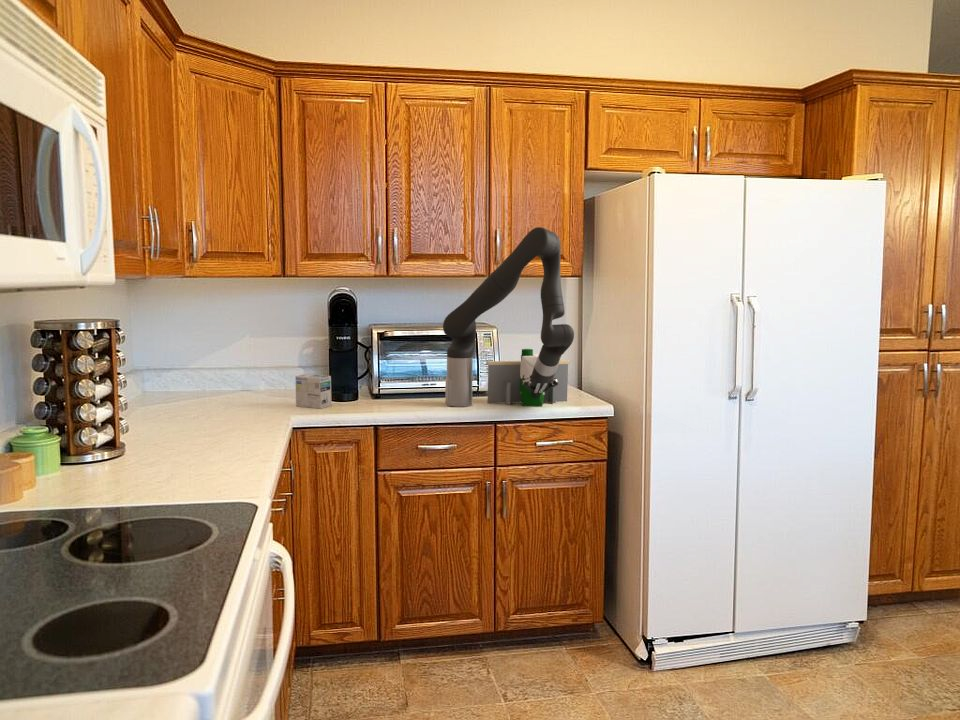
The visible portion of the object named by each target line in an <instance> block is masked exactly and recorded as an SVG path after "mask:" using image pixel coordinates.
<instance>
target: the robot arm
mask: <svg viewBox="0 0 960 720" xmlns="http://www.w3.org/2000/svg"><path fill="white" fill-rule="evenodd" d="M561 250H562V249H561V240H560V237H559V236H558V235H557V234H556V233H555V232H553V231H551V230H549V229H547V228H544V227H543V226H542V227H541V226H538V227H534V228H533V229H531V230H530V231H528V233H526V235H525V236H524V237H523V238H522V240H521V241H520V242H519V243H518V244H517V246H516V247H515V248H514V250H513V251H512V252H511V253H510V254H509V255H508V256H507V257H506V258H505V259H504V261H503V262H502V263H501V264H500V265H498V266H497V267H496V268H495V269H494V270H493V271H492V272H491V273H490V274H489V275H488V276H487V277H486V278H485V280H483V281H482V283H481V284H480V285H479V286H478V287H477V288H476V289H475V290H474V291H473V292H472V293H471V294H470V296H468V297H467V298H466V300H464V302H462V303H461V304H460V305H459V306H457V307H456V308H455V309H453V310H452V311H450V313H449V314H447V316H446V317H445V318H444V321H443V325H442V329H443V333H444V334H445V336H447V337H449V338H451V340H452V341H451V344H450V345H449V347H448V348H447V350H446V377H445V392H444V393H445V394H444V395H445V396H444V397H445V399H444V400H445V401H444V402H445V404H446V406H449V407H470V406H472V405H473V369H474V368H473V367H474V366H473V365H474V361H473V360H474V358H473V357H474V356H473V355H474V351H475V347H476V340H477V339H476V335H477V323H476V319H478V318H479V317H480V316H481V315H483V314H484V313H486V312H487V311H489V310H490V309H492V308H494V307H496V306H497V305H498V304H499V303H501V302H503V301H504V300H505V299H506V298H507V297H508V296H509V295H510V294H511V293H512V292H513V291H514V290H515V288H516V286H517V284H518V282H519V280H520V278H521V274H522V272H523V270H524V269H525V268H526V266H527V265H528V264H530V263H531V262H532V261H533V260H534V259H535V258H536V257H538V258H540V260H541V263H542V269H543V278H542V282H541V287H540V302H541V310H542V323H541V324H542V325H541V328H540V329H541V330H540V341H541V343H542V346H541V348H540V351H539V353H538V354H539V356H538V358H537V360H536V363H535V366H534V369H533V372H532V375H531V376H530V377H529V379H526V378H524V379H523V384H524V386H525V387H526V388H527V389H528V390H529V391H530V392H532V397H533V398H538V397H540V395H541V393H542V392H543V391H545V392H547V391H548V390H550V389H552V388H553V387H555V386H557V385H558V381H557V378H554V376H555V373H556V370H557V368H558V364H559V360H561V358H562V355H564V353H565V352H566V351H567V350H568V349H569V348H570V347H571V346H572V344H573V342H574V338H575V331H574V329H573V327H572V326H571V325H570V324H568V323H562V324H559V323H558V324H553V321H554V320H558V319H560V318H562V317H564V315H565V305H564V298H563V297H564V296H563V290H562V283H561V280H562V279H561V278H562V277H561V256H562V254H561V253H562V252H561ZM530 382H531V383H532V384H533V386H532V385H531V383H530ZM548 385H549V387H547V386H548Z"/></svg>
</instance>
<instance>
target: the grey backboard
mask: <svg viewBox="0 0 960 720" xmlns="http://www.w3.org/2000/svg"><path fill="white" fill-rule="evenodd" d="M485 364H486V365H487V369H488V370H487V403H488V404H503V403H504V404H505V405H506V406H510V405H511V403H522V401H521V395H520V366H521V360H498V361H497V360H490V361H489V360H488V361H487V360H486V361H485ZM569 365H570V360H568V359H565V360H561V359H560V360H559V364H558V368H557V370H556V373H555V376H554V378H557V381H558V385H557V386H555V387H553V388H552V389H550V390H548V391H547V392H545V393H544V399H543V403H544V402H547V403H550V402H551V403H550V404H552V403H556V402H567V401H568V385H569V384H568V382H569V381H568V378H569ZM547 387H549V385H548V386H547ZM556 404H557V403H556Z"/></svg>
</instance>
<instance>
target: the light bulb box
mask: <svg viewBox="0 0 960 720" xmlns="http://www.w3.org/2000/svg"><path fill="white" fill-rule="evenodd" d="M295 405H296V407H303V408H311V409H321V410H322V409H324V408H328V407H330V406H332V376H331V375H322V374H321V375H320V374H310V373H305V374H300V375H295Z"/></svg>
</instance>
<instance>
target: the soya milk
mask: <svg viewBox="0 0 960 720" xmlns="http://www.w3.org/2000/svg"><path fill="white" fill-rule="evenodd" d="M539 354H540V353H534V349H532V348H522V349H521V355H520V361H521V366H520V395H521V401H522V402H521V406H522V407H543V404H544V402H543V399H544V393H545V391H543V392H542V393H541V395H540V397H538V398H533V397H532V392H530V391H529V390H528V389H527V388H526V387H525V386H524V384H523V379H524V378H526V379H529V377H530V376H531V375H532V372H533V369H534V366H535V363H536V360H537V358H538V356H539ZM530 383H531V382H530ZM531 385H532V386H533V384H532V383H531Z"/></svg>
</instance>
